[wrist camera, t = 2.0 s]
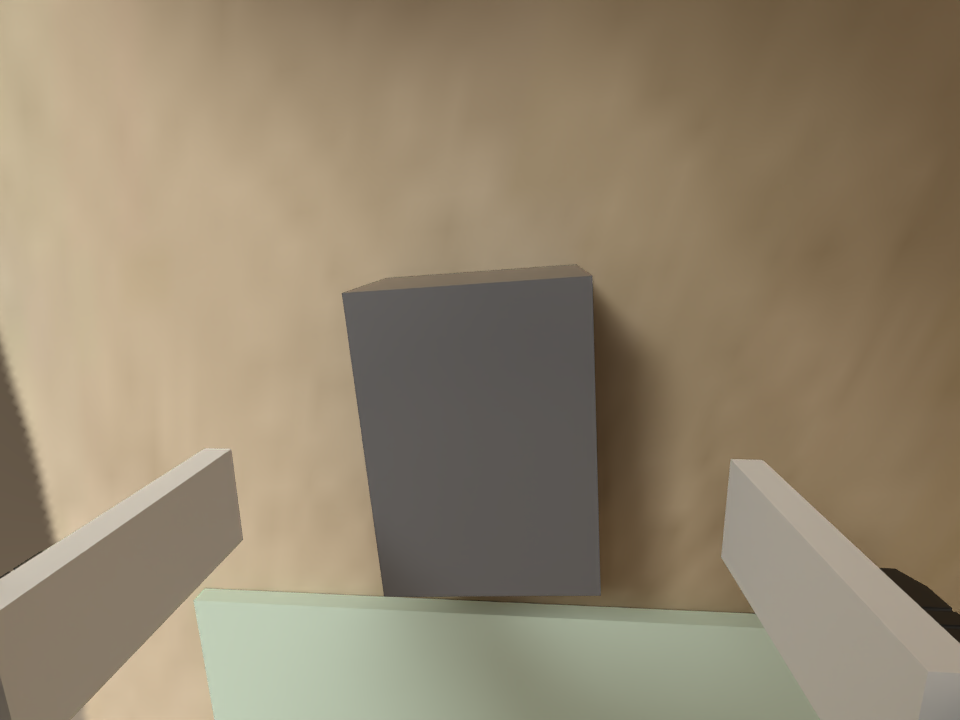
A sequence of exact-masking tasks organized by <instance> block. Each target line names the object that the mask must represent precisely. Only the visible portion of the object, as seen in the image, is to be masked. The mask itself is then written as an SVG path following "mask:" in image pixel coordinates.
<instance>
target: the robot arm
mask: <svg viewBox="0 0 960 720" xmlns="http://www.w3.org/2000/svg"><path fill="white" fill-rule="evenodd" d="M242 540H243V536H242V528H241V520H240V513H239V505H238V497H237V489H236V482H235V474H234V466H233V458H232V451H231V449H212V448H204V449H203V450H201V451H200V452H198V453H197V454H195V455H194V456H192V457H190V458H189V459H187V460H186V461H184V462H183V463H181V464H179V465H178V466H176V467H175V468H173V469H172V470H170V471H168V472H167V473H165V474H164V475H162V476H161V477H159V478H157V479H156V480H154V481H153V482H151V483H150V484H148V485H147V486H145V487H143V488H142V489H140V490H139V491H137V492H136V493H134V494H132V495H131V496H129V497H128V498H126V499H125V500H123V501H121V502H120V503H118V504H117V505H115V506H114V507H112V508H111V509H109V510H107V511H106V512H104V513H103V514H101V515H100V516H98V517H96V518H95V519H93V520H92V521H90V522H89V523H87V524H85V525H84V526H82V527H81V528H79V529H78V530H76V531H74V532H73V533H71V534H70V535H68V536H67V537H65V538H64V539H62V540H60V541H59V542H57V543H56V544H54V545H53V546H51V547H49V548H48V549H45V550H43V551H41V552H39V553H37V554H36V555H34V556H32V557H31V558H29V559H28V560H26V561H25V562H23V563H21V564H20V565H18V566H17V567H15V568H14V570H13V571H12V572H7V573H6V574H4V575H3V576H1V577H0V720H71V719H72V718H73V717H74V716H75V715H76V713H77V712H78V711H79V710H80V709H81V708H82V707H83V706H84V705H85V704H86V703H87V702H88V701H89V700H90V699H91V698H92V697H93V696H94V695H95V694H96V693H97V692H98V691H99V689H100V688H101V687H102V686H103V685H104V684H105V683H106V682H107V681H108V680H109V679H110V678H111V677H112V676H113V675H114V674H115V673H116V672H117V671H118V670H119V669H120V668H121V667H122V665H123V664H124V663H125V662H126V661H127V660H128V659H129V658H130V657H131V656H132V655H133V654H134V653H135V652H136V651H137V650H138V649H139V648H140V647H141V646H142V645H143V644H144V643H145V641H146V640H147V639H148V638H149V637H150V636H151V635H152V634H153V633H154V632H155V631H156V630H157V629H158V628H159V627H160V626H161V625H162V624H163V623H164V622H165V621H166V620H167V618H168V617H169V616H170V615H171V614H172V613H173V612H174V611H175V610H176V609H177V608H178V607H179V606H180V605H181V604H182V603H183V602H184V601H185V600H186V599H187V598H188V597H189V596H190V594H191V593H192V592H193V591H194V590H195V589H196V588H197V587H198V586H199V585H200V584H201V583H202V582H203V581H204V580H205V579H206V578H207V577H208V576H209V575H210V574H211V573H212V571H213V570H214V569H215V568H216V567H217V566H218V565H219V564H220V563H221V562H222V561H223V560H224V559H225V558H226V557H227V556H228V555H229V554H230V553H231V552H232V551H233V550H234V549H235V547H236V546H237V545H238V544H239V543H240V542H241V541H242ZM721 558H722V559H723V561H724V563H725V564H726V566H727V568H728V569H729V571H730V573H731V574H732V576H733V578H734V579H735V581H736V582H737V584H738V586H739V587H740V589H741V591H742V592H743V594H744V596H745V597H746V599H747V600H748V602H749V604H750V605H751V607H752V609H753V610H754V612H755V614H756V615H757V617H758V618H759V620H760V622H761V623H762V625H763V627H764V628H765V630H766V632H767V633H768V635H769V636H770V638H771V640H772V641H773V643H774V645H775V646H776V648H777V650H778V651H779V653H780V654H781V656H782V658H783V659H784V661H785V663H786V664H787V666H788V668H789V669H790V671H791V672H792V674H793V676H794V677H795V679H796V681H797V682H798V684H799V686H800V687H801V689H802V691H803V692H804V694H805V695H806V697H807V699H808V700H809V702H810V704H811V705H812V707H813V709H814V710H815V712H816V713H817V715H818V717H819V718H820V720H960V615H959V614H958V613H957V612H953V611H952V608H951V607H950V606H949V605H948V604H947V603H945V602H944V601H943V600H942V599H941V598H940V597H938V596H937V595H936V594H935V593H934V592H933V591H932V590H930V589H929V588H928V587H927V586H925V585H923V584H921V583H920V582H918V581H916V580H914V579H913V578H911V577H909V576H907V575H905V574H904V573H902V572H900V571H898V570H897V569H891V568H878V567H877V566H876V565H875V564H874V563H873V562H872V561H871V560H870V559H869V558H868V557H866V556H865V555H864V554H863V553H862V552H861V551H860V550H859V549H858V548H857V547H856V546H855V545H854V544H853V543H851V542H850V541H849V540H848V539H847V538H846V537H845V536H844V535H843V534H842V533H841V532H840V531H839V530H837V529H836V528H835V527H834V526H833V525H832V524H831V523H830V522H829V521H828V520H827V519H826V518H825V517H824V516H822V515H821V514H820V513H819V512H818V511H817V510H816V509H815V508H814V507H813V506H812V505H811V504H810V503H808V502H807V501H806V500H805V499H804V498H803V497H802V496H801V495H800V494H799V493H798V492H797V491H796V490H795V489H793V488H792V487H791V486H790V485H789V484H788V483H787V482H786V481H785V480H784V479H783V478H782V477H781V476H780V475H778V474H777V473H776V472H775V471H774V470H773V469H772V468H771V467H770V466H769V465H768V464H767V463H766V462H764V461H763V460H748V459H731V461H730V471H729V482H728V492H727V503H726V513H725V523H724V534H723V544H722V555H721Z"/></svg>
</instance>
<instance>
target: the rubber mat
mask: <svg viewBox="0 0 960 720" xmlns="http://www.w3.org/2000/svg"><path fill="white" fill-rule="evenodd" d="M194 605H195V611H196V617H197V623H198V628H199V634H200V640H201V646H202V651H203V657H204V663H205V668H206V674H207V680H208V686H209V691H210V697H211V703H212V709H213V714H214V720H820V718H819V717H818V715H817V713H816V712H815V710H814V709H813V707H812V705H811V704H810V702H809V700H808V699H807V697H806V695H805V694H804V692H803V691H802V689H801V687H800V686H799V684H798V682H797V681H796V679H795V677H794V676H793V674H792V672H791V671H790V669H789V668H788V666H787V664H786V663H785V661H784V659H783V658H782V656H781V654H780V653H779V651H778V650H777V648H776V646H775V645H774V643H773V641H772V640H771V638H770V636H769V635H768V633H767V632H766V630H765V628H764V627H763V625H762V623H761V622H760V620H759V618H758V617H757V615H756V614H749V613H727V612H706V611H684V610H662V609H641V608H619V607H597V606H576V605H554V604H533V603H511V602H489V601H468V600H446V599H424V598H403V597H381V596H359V595H338V594H316V593H295V592H273V591H251V590H230V589H208V588H205V589H204V590H203V591H202V592H201V593H200V594H199V595H198V596H197V597H196V598H195V600H194Z"/></svg>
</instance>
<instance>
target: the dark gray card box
mask: <svg viewBox="0 0 960 720" xmlns="http://www.w3.org/2000/svg"><path fill="white" fill-rule="evenodd" d="M342 297H343V305H344V312H345V319H346V326H347V333H348V340H349V348H350V355H351V362H352V369H353V376H354V384H355V391H356V398H357V405H358V412H359V419H360V427H361V434H362V441H363V448H364V455H365V462H366V470H367V477H368V484H369V491H370V498H371V505H372V513H373V520H374V527H375V534H376V541H377V548H378V556H379V563H380V570H381V577H382V584H383V591H384V597H434V596H601V587H600V549H599V512H598V474H597V436H596V398H595V360H594V322H593V284H592V275H591V274H589V273H588V272H586V271H585V270H584V269H582V268H581V267H579V266H578V265H577V264H575V265H561V266H547V267H533V268H519V269H505V270H491V271H477V272H463V273H449V274H436V275H422V276H408V277H394V278H385V279H382V280H379V281H376V282H373V283H370V284H367V285H364V286H361V287H358V288H355V289H352V290H350V291H347V292H344V293H342Z"/></svg>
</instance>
